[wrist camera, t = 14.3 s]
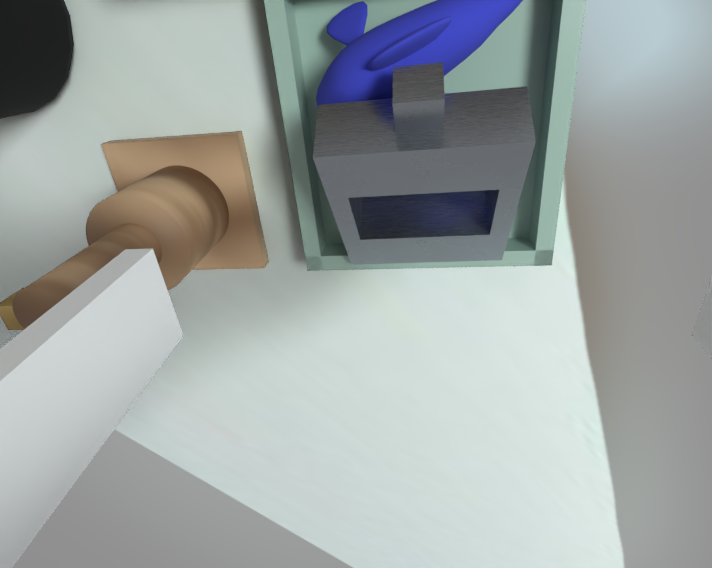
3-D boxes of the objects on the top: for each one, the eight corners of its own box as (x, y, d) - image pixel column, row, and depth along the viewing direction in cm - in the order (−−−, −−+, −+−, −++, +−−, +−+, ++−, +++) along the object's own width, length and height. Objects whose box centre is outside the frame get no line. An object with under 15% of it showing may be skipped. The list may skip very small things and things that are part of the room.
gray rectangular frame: (353, 223, 29) (351, 264, 28) (309, 75, 19) (302, 130, 18) (497, 217, 28) (501, 260, 27) (534, 53, 18) (544, 110, 16)
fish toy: (361, 173, 27) (332, 189, 21) (299, 48, 25) (247, 25, 19) (631, 29, 22) (701, -7, 16) (574, -137, 20) (626, -252, 14)
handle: (110, 140, 29) (-108, 220, 17) (241, 131, 28) (104, 210, 16) (153, 264, 34) (2, 397, 22) (268, 261, 32) (176, 401, 20)
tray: (274, -21, 24) (259, -26, 22) (578, -60, 22) (595, -70, 19) (315, 253, 32) (307, 270, 29) (542, 247, 29) (551, 265, 27)
